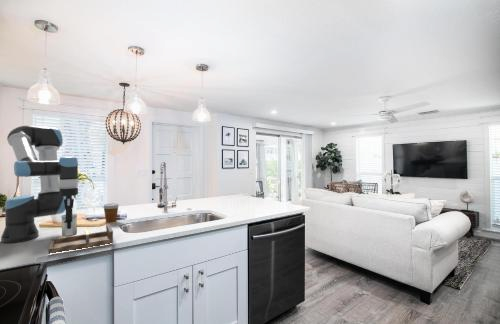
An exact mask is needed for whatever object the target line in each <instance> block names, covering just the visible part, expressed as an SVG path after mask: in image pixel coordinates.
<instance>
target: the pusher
mask: <svg viewBox="0 0 500 324" xmlns="http://www.w3.org/2000/svg"><path fill="white" fill-rule="evenodd" d="M84 229H85V232H84V233H85V238H86V242H89V234H90V233H89V228H88V227H85V228H84Z"/></svg>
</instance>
